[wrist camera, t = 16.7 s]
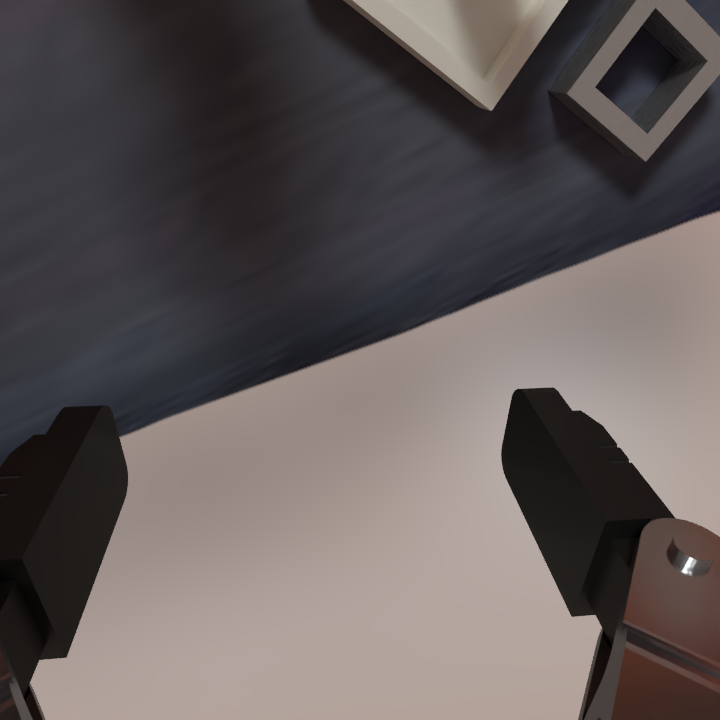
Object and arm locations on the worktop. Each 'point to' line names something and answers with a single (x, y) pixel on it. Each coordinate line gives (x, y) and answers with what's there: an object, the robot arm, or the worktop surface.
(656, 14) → the collar
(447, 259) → the worktop surface
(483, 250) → the worktop surface
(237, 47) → the worktop surface
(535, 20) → the tray
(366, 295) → the worktop surface
